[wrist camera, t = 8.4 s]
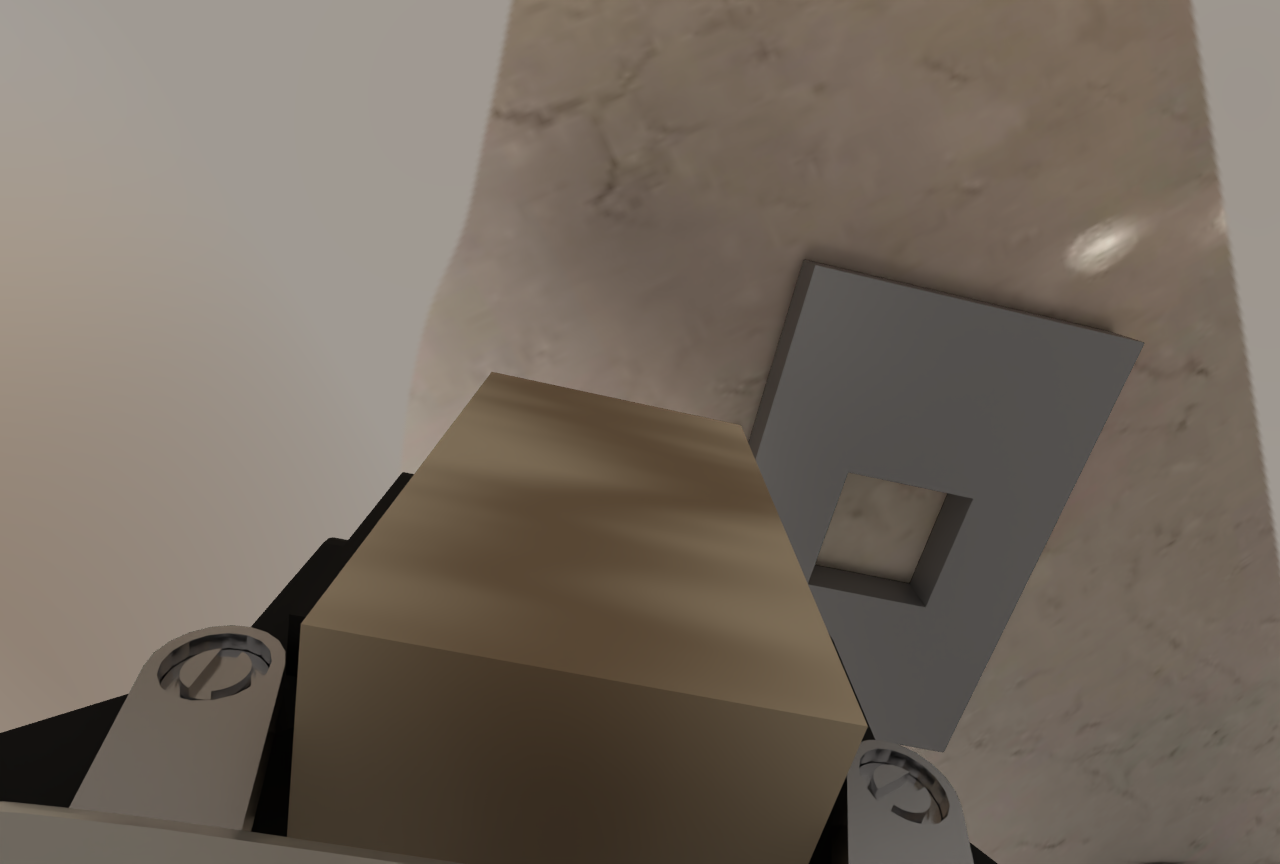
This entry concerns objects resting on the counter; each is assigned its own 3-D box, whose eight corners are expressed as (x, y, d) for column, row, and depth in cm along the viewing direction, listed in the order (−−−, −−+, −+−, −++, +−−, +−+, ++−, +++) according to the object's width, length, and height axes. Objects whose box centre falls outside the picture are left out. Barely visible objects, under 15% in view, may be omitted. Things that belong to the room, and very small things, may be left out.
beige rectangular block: (740, 425, 14) (867, 726, 6) (680, 630, 15) (722, 1062, 8) (492, 371, 13) (300, 623, 6) (458, 588, 15) (276, 1002, 7)
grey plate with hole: (1112, 332, 30) (1144, 342, 28) (928, 723, 37) (943, 752, 35) (803, 259, 28) (815, 265, 27) (677, 677, 36) (679, 705, 34)
